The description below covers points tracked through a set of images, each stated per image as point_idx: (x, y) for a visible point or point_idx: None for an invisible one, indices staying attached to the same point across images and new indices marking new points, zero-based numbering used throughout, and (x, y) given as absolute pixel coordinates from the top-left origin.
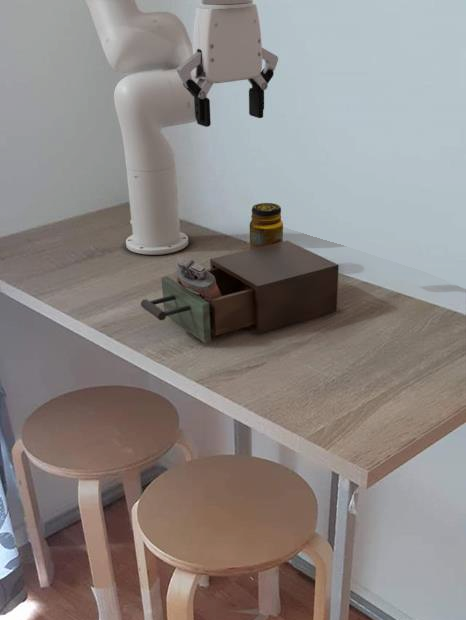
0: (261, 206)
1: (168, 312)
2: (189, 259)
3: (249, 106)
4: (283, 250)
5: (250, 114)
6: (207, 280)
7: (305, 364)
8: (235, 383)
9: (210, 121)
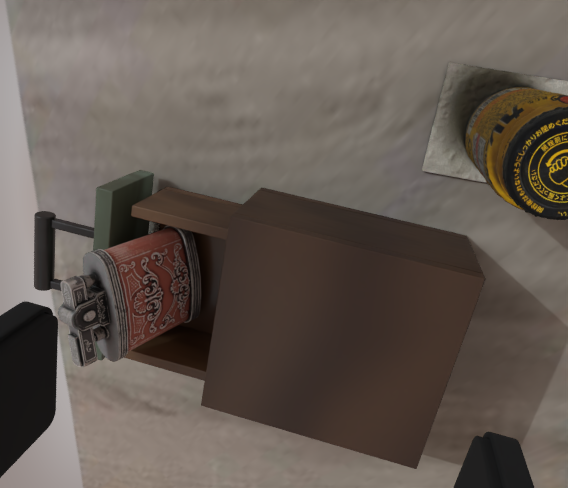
0: (564, 144)
1: (56, 289)
2: (70, 321)
3: (485, 484)
4: (408, 320)
5: (472, 448)
6: (107, 348)
7: (216, 459)
8: (104, 417)
9: (38, 437)
